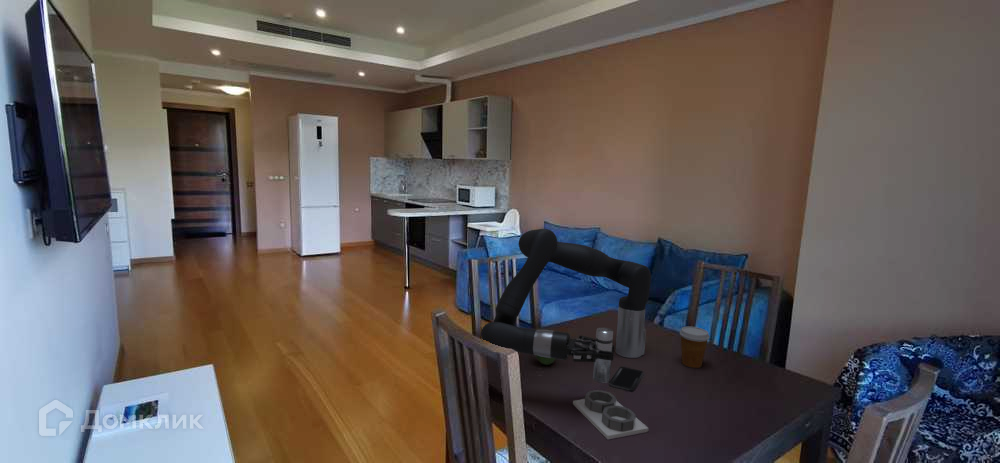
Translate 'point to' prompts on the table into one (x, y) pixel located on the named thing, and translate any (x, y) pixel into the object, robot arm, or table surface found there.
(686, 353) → the disposable coffee cup
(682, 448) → the table surface
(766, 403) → the table surface
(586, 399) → the hex nut holder
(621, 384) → the phone
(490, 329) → the robot arm
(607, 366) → the tube
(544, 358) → the avocado
